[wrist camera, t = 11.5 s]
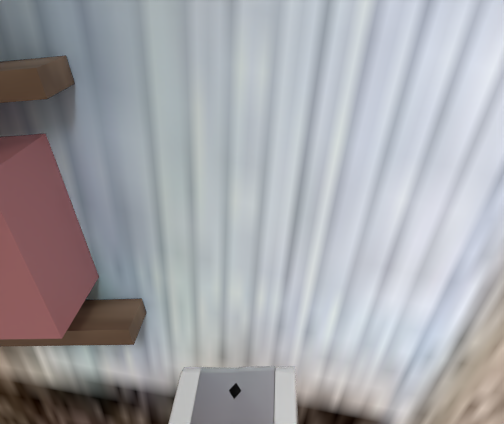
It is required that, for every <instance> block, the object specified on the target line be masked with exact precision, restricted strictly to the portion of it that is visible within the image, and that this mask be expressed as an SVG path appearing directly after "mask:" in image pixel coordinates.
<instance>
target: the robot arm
mask: <svg viewBox="0 0 504 424" xmlns="http://www.w3.org/2000/svg"><path fill="white" fill-rule="evenodd" d="M169 424H298V409H297V392H296V376H295V366H294V367H275V366H267V367H239V368H215V367H184V368H183V370H182V372H181V374H180V378H179V383H178V387H177V391H176V395H175V399H174V403H173V407H172V411H171V416H170V420H169Z"/></svg>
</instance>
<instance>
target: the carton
mask: <svg viewBox="0 0 504 424" xmlns="http://www.w3.org/2000/svg"><path fill="white" fill-rule="evenodd" d="M98 278H99V276H98V273H97V270H96V268H95V265H94V262H93V260H92V257H91V254H90V251H89V249H88V246H87V243H86V241H85V238H84V235H83V233H82V230H81V227H80V225H79V222H78V219H77V217H76V214H75V211H74V209H73V206H72V203H71V200H70V198H69V195H68V192H67V190H66V187H65V184H64V182H63V179H62V176H61V174H60V171H59V168H58V166H57V163H56V160H55V158H54V155H53V152H52V149H51V147H50V144H49V141H48V139H47V136H46V134H34V135H20V136H6V137H0V339H62V338H63V336H64V334H65V333H66V331H67V329H68V328H69V326H70V324H71V323H72V321H73V319H74V318H75V316H76V314H77V313H78V311H79V309H80V308H81V306H82V304H83V303H84V301H85V299H86V298H87V296H88V294H89V293H90V291H91V289H92V288H93V286H94V284H95V283H96V281H97V279H98Z"/></svg>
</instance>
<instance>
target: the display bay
mask: <svg viewBox="0 0 504 424" xmlns="http://www.w3.org/2000/svg"><path fill="white" fill-rule="evenodd" d="M73 84H75V83H74V80H73V77H72V73H71V70H70V67H69V64H68V60H67V57H66V56H57V57H46V58H35V59H24V60H14V61H3V62H0V103H4V102H17V101H29V100H41V99H48V98H50V97H52V96H53V95H55V94H57V93H59V92H61V91H62V90H64V89H66V88H68V87H70V86H71V85H73ZM145 315H146V310H145V307H144V304H143V301H142V299H113V300H85V301H84V303H83V304H82V306H81V308H80V309H79V311H78V313H77V314H76V316H75V318H74V319H73V321H72V323H71V324H70V326H69V328H68V329H67V331H66V333H65V334H64V336H63V338H62V339H0V346H62V345H134V343H135V340H136V338H137V335H138V333H139V330H140V328H141V325H142V323H143V320H144V318H145Z"/></svg>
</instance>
